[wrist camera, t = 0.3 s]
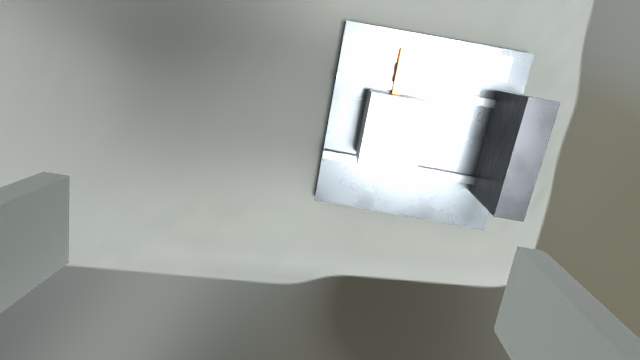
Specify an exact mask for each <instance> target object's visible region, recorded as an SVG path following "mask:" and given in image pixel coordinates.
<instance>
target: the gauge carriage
mask: <svg viewBox="0 0 640 360" xmlns="http://www.w3.org/2000/svg"><path fill="white" fill-rule="evenodd" d="M408 50H409V48H404V47H401V52H400V57H399V61H398V66H397V71H396V76H395V80H394V85H393V90H392V93H389V92H384V91H378V90H372V89H368V93H367V98H366V103H365V108H364V114H363V119H362V124H361V129H360V134H359V139H358V144H357V149H356V159H357V165H358V166H363V167H368V168H374V169H379V170H385V171H391V172H396V173H402V174H408V175H413V176H415V173H416V169H417V165H418V161H419V156H420V152H421V148H422V144H423V139H424V135H425V131H426V127H427V122H428V118H429V114H430V110H431V105H432V103H430V102H428V101H426V100H424V99H422V98H417V97H412V96H406V95H400V94H399V92H400V87H401V83H402V78H403V74H404V69H405V64H406V60H407V55H408Z"/></svg>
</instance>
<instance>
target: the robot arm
mask: <svg viewBox="0 0 640 360" xmlns="http://www.w3.org/2000/svg"><path fill="white" fill-rule="evenodd" d="M67 263H69V176H66V175H60V174H54V173H47V172H42V173H39V174H36V175H34V176H31V177H28V178H25V179H23V180H20V181H17V182H15V183H12V184H9V185H7V186H4V187H1V188H0V313H1V312H2V311H4V310H5V309H7V308H8V307H9V306H11V305H12V304H13V303H15V302H16V301H17V300H19V299H20V298H21V297H23V296H24V295H25V294H27V293H28V292H29V291H31V290H32V289H34V288H35V287H36V286H38V285H39V284H40V283H42V282H43V281H44V280H46V279H47V278H48V277H50V276H51V275H52V274H54V273H55V272H56V271H58V270H59V269H61V268H62V267H63V266H65V265H66V264H67ZM494 331H495V333H496V334H497V336H498V338H499V339H500V341H501V343H502V345H503V346H504V348H505V350H506V352H507V353H508V355H509V357H510V358H511V360H640V339H639V338H638V337H637V336H636V335H635V334H634V333H633V332H631V331H630V330H629V329H628V328H627V327H626V326H625V325H624V324H623V323H622V322H620V321H619V320H618V319H617V318H616V317H615V316H614V315H613V314H612V313H610V311H608V309H606V308H605V307H604V306H603V305H602V304H601V303H600V302H599V301H598V300H597V299H595V298H594V297H593V296H592V295H591V294H590V293H589V292H588V291H587V290H586V289H585V288H584V287H582V286H581V285H580V284H579V283H578V282H577V281H576V280H575V279H574V278H572V276H570V275H569V274H568V273H567V272H566V271H565V270H564V269H563V268H562V267H561V266H560V265H559V264H557V263H556V262H555V261H554V260H553V259H552V258H551V257H550V256H549V255H548V254H546V253H545V252H544V251H542V250H536V249H529V248H523V247H517V250H516V253H515V257H514V260H513V264H512V267H511V271H510V274H509V278H508V281H507V285H506V288H505V292H504V295H503V299H502V303H501V306H500V309H499V313H498V317H497V320H496V324H495V327H494Z"/></svg>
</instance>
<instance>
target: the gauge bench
mask: <svg viewBox="0 0 640 360" xmlns="http://www.w3.org/2000/svg"><path fill="white" fill-rule="evenodd" d="M401 47H404V48H409V50H408V55H407V60H406V64H405V69H404V74H403V78H402V83H401V87H400V92H399V94H400V95H406V96H412V97H417V98H422V99H424V100H426V101H428V102H430V103H432V105H431V110H430V114H429V118H428V122H427V127H426V131H425V135H424V139H423V144H422V148H421V152H420V156H419V161H418V165H417V169H416V173H415V176H413V175H408V174H402V173H396V172H391V171H385V170H379V169H374V168H368V167H363V166H358V165H357V159H356V149H357V144H358V139H359V134H360V129H361V124H362V119H363V114H364V108H365V103H366V98H367V93H368V89H372V90H378V91H384V92H389V93H392V90H393V85H394V80H395V76H396V71H397V66H398V61H399V57H400V52H401ZM533 58H534V54H531V53H526V52H520V51H514V50H509V49H503V48H498V47H492V46H486V45H481V44H475V43H470V42H464V41H458V40H453V39H447V38H442V37H436V36H431V35H425V34H419V33H414V32H408V31H403V30H397V29H391V28H386V27H380V26H375V25H369V24H363V23H358V22H352V21H347V20H346V25H345V31H344V36H343V42H342V47H341V53H340V59H339V64H338V70H337V76H336V81H335V87H334V93H333V98H332V104H331V110H330V115H329V121H328V126H327V132H326V138H325V143H324V149H323V155H322V160H321V166H320V172H319V177H318V183H317V188H316V194H315V200H316V201H322V202H328V203H333V204H339V205H345V206H350V207H356V208H361V209H367V210H373V211H378V212H384V213H390V214H395V215H401V216H407V217H412V218H418V219H424V220H429V221H435V222H440V223H446V224H452V225H457V226H463V227H469V228H474V229H480V230H484V228H485V225H486V221H487V218H488V214H489V212H490V213H491V214H492V215H493V216H494V217H500V218H506V219H511V220H517V221H522V222H524V218H525V215H526V212H527V209H528V205H529V202H530V199H531V196H532V193H533V189H534V186H535V183H536V180H537V176H538V173H539V170H540V167H541V164H542V160H543V157H544V154H545V151H546V147H547V144H548V141H549V138H550V135H551V131H552V128H553V125H554V122H555V118H556V115H557V112H558V109H559V106H560V102H555V101H550V100H545V99H540V98H535V97H530V96H525V95H523V92H524V89H525V86H526V82H527V79H528V75H529V72H530V68H531V65H532V61H533Z"/></svg>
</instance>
